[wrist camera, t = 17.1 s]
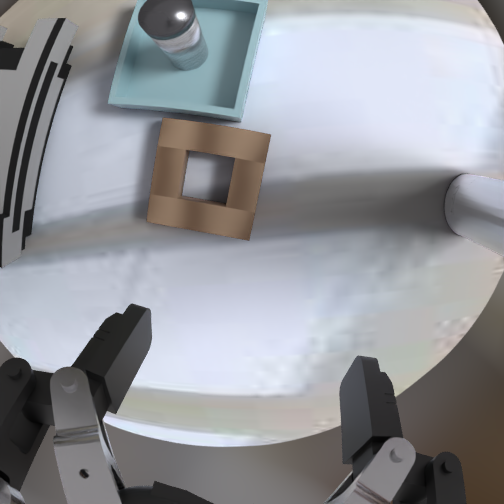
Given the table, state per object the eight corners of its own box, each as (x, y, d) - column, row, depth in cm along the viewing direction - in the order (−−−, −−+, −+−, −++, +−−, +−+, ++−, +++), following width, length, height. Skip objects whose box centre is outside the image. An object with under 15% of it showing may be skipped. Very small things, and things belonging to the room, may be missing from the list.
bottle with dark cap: (212, 39, 29) (199, -9, 17) (203, 73, 30) (184, 35, 19) (175, 35, 28) (147, -10, 17) (165, 69, 30) (131, 34, 18)
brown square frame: (269, 136, 34) (271, 134, 31) (248, 235, 37) (249, 240, 35) (168, 120, 33) (162, 117, 30) (152, 217, 36) (146, 221, 34)
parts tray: (265, 13, 29) (268, -1, 25) (241, 122, 33) (240, 117, 29) (150, 4, 27) (141, -9, 24) (121, 107, 32) (107, 103, 28)
